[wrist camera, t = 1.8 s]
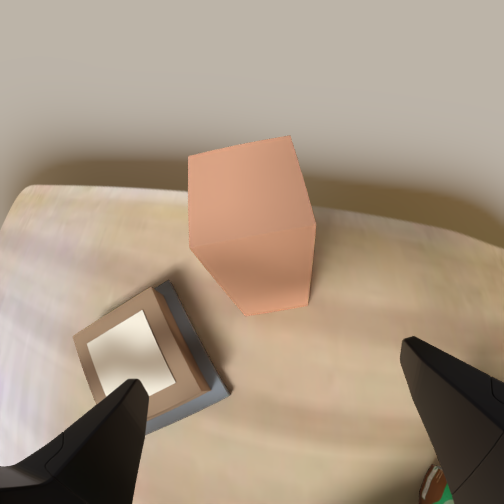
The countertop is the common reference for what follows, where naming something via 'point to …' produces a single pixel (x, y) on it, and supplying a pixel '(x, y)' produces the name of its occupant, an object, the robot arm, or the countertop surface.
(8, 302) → the countertop surface
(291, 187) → the terracotta block
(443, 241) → the countertop surface
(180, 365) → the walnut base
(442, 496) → the food container
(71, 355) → the countertop surface
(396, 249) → the countertop surface
